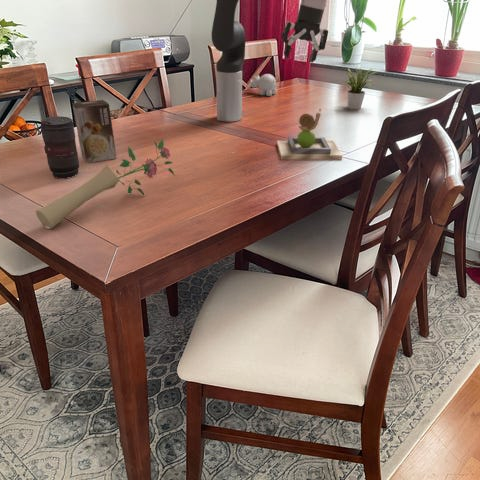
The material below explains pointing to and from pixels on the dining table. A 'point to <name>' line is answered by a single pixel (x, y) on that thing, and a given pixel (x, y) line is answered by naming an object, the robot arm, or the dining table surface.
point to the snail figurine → (307, 130)
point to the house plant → (356, 89)
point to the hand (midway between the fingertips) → (298, 59)
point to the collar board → (308, 149)
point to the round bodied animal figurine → (265, 84)
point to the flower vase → (96, 188)
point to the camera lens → (60, 146)
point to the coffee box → (94, 130)
